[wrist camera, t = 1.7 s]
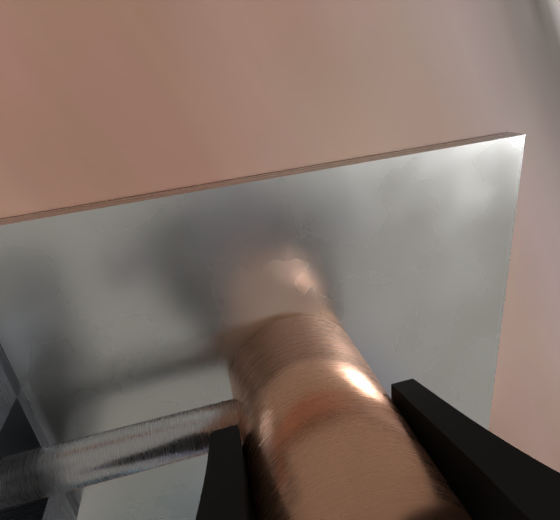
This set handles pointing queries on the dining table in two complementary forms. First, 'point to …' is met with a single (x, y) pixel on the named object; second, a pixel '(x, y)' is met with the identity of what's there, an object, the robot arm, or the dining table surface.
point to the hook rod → (272, 438)
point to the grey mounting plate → (248, 299)
